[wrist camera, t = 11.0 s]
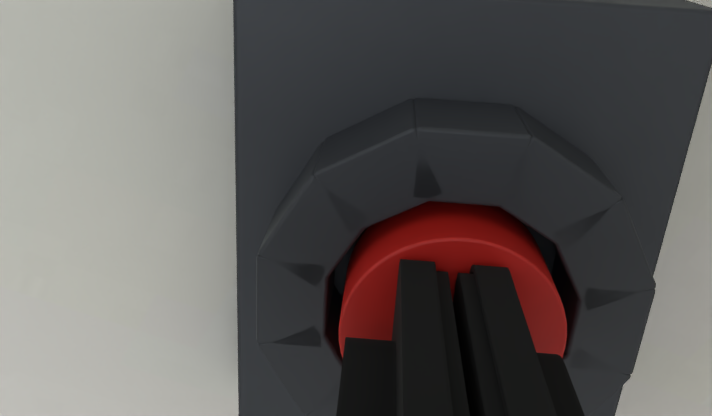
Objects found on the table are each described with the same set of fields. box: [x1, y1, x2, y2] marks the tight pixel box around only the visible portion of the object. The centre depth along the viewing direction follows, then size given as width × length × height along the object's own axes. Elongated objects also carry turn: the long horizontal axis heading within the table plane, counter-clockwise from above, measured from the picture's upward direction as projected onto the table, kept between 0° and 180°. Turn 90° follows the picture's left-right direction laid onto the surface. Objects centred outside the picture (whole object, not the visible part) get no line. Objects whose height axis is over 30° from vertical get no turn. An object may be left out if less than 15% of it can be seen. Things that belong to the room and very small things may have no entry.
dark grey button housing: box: [233, 0, 712, 416], centre depth 13 cm, size 10×8×4 cm
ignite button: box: [338, 201, 567, 358], centre depth 11 cm, size 4×4×2 cm
